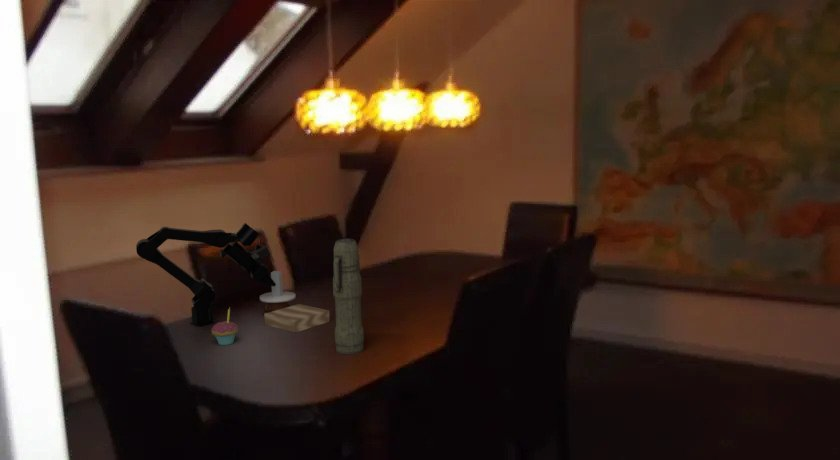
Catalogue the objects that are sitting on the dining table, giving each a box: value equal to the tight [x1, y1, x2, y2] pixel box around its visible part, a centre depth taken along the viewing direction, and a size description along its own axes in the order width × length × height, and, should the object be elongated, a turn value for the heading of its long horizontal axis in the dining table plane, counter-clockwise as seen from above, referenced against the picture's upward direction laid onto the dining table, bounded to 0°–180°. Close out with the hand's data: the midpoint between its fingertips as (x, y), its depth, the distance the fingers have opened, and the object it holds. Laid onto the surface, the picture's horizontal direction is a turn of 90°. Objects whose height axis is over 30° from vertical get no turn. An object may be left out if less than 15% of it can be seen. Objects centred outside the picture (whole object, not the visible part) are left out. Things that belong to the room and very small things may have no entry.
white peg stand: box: [259, 270, 296, 304], centre depth 274 cm, size 13×13×10 cm
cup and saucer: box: [261, 301, 292, 315], centre depth 275 cm, size 12×12×6 cm
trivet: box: [263, 303, 330, 333], centre depth 262 cm, size 16×16×4 cm
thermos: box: [332, 238, 365, 355], centre depth 230 cm, size 9×12×35 cm
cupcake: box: [211, 307, 240, 346], centre depth 241 cm, size 9×8×12 cm
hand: (272, 282), depth 273 cm, fingers open, 9 cm apart
